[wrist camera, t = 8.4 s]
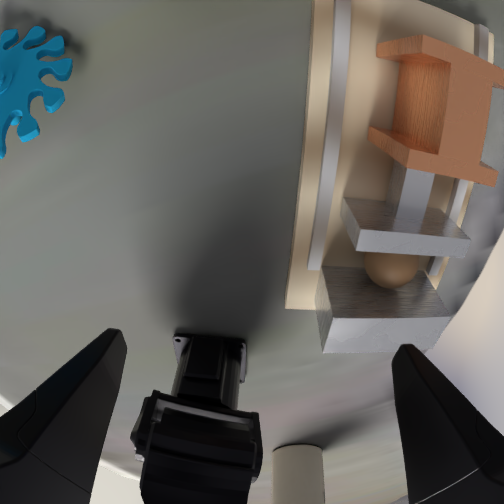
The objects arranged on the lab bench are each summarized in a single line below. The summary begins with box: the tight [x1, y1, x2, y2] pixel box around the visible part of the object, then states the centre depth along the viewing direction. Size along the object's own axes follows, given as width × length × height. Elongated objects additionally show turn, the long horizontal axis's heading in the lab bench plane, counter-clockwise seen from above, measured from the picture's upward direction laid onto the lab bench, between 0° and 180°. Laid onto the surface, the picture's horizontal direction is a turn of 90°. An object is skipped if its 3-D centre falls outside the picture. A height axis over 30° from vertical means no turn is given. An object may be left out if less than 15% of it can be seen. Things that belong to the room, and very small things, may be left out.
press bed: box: [285, 0, 494, 310], centre depth 17 cm, size 22×12×2 cm, turn 178°
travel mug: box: [271, 444, 325, 504], centre depth 33 cm, size 8×8×18 cm
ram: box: [340, 34, 504, 258], centre depth 13 cm, size 10×7×5 cm
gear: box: [0, 26, 73, 159], centre depth 13 cm, size 11×6×10 cm
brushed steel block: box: [314, 265, 451, 353], centre depth 19 cm, size 3×8×5 cm, turn 88°
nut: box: [364, 252, 419, 289], centre depth 18 cm, size 4×4×4 cm
